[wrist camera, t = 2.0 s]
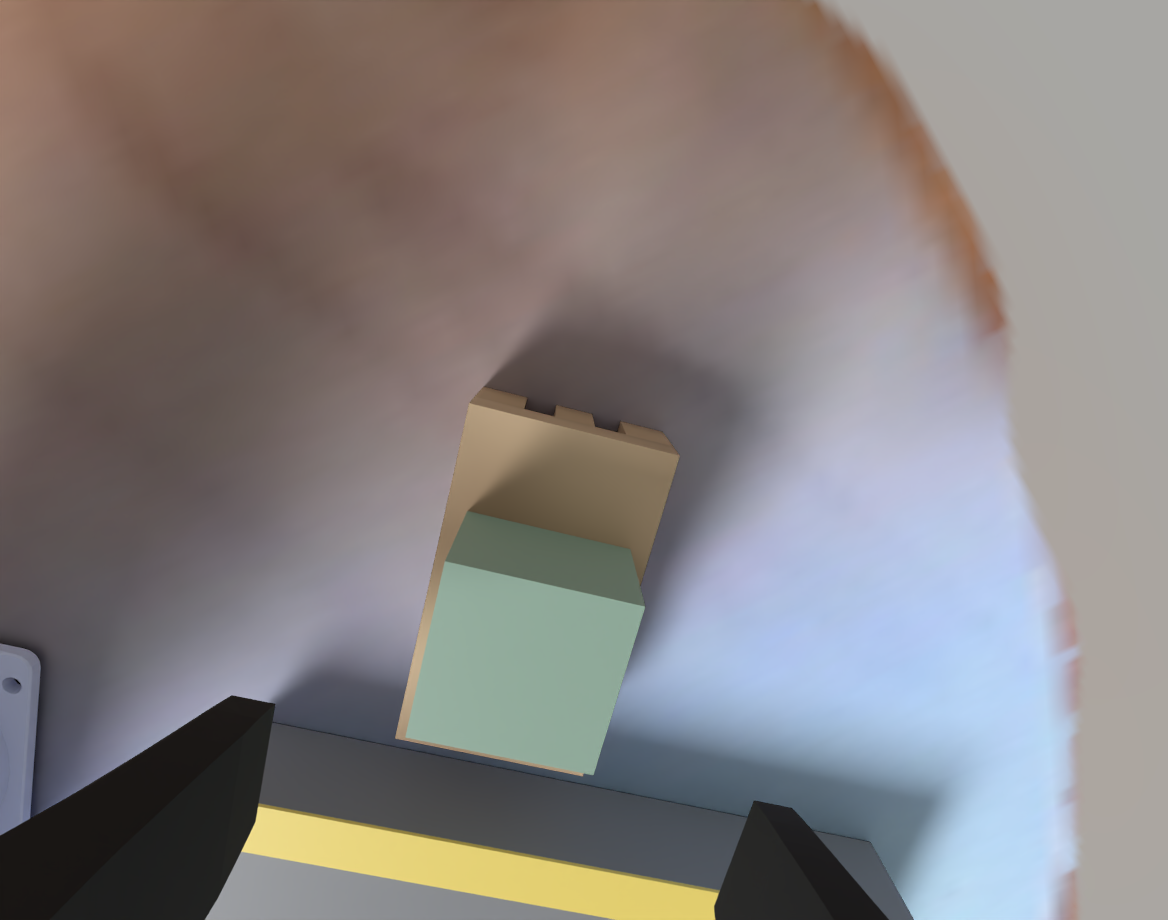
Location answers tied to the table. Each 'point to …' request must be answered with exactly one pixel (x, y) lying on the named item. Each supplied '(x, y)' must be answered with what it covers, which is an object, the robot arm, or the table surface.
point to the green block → (527, 644)
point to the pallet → (549, 491)
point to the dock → (479, 844)
